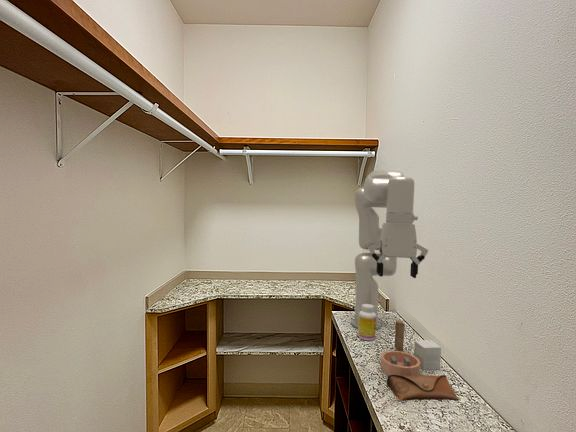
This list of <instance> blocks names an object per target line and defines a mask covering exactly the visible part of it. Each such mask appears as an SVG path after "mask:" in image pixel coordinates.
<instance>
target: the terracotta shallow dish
mask: <svg viewBox="0 0 576 432" xmlns="http://www.w3.org/2000/svg"><path fill="white" fill-rule="evenodd" d="M380 368H381V371H382V372H384V374H386V375H388V376H390V375H401V376H404V375H420V374H421V369H422V368H421V362H420V361H419V359H418V358H417V357H415V356H414V354H411V353H409V352H404V351H403V352H402V351H397V350H388V351H384V352H382V353H381V355H380Z"/></svg>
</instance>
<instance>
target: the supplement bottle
mask: <svg viewBox="0 0 576 432" xmlns="http://www.w3.org/2000/svg"><path fill="white" fill-rule="evenodd" d="M373 310H374V306H373V305H371V304H363V305H362V311H360V312H359V327H358V328H357V330H358V333H357V336H358V338H359V339H360V340H363V341H374V340H375V339H376V332H377V330H376V313H375V312H373Z"/></svg>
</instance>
